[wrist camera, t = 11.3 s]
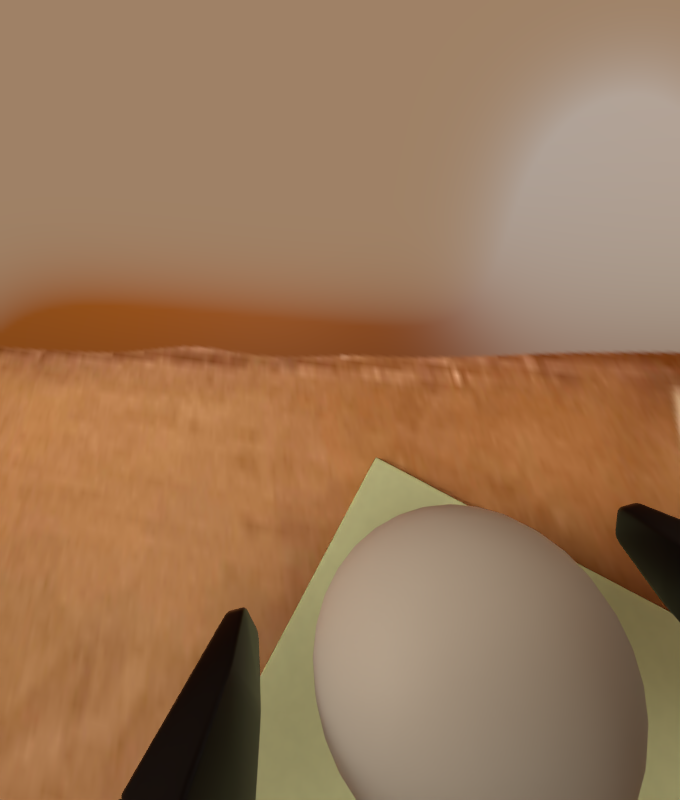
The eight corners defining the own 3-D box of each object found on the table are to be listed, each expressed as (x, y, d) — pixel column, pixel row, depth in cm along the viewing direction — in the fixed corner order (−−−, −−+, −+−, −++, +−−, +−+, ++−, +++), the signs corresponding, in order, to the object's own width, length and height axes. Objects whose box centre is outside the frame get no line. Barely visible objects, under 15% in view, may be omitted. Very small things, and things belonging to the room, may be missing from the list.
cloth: (897, 733, 13) (909, 737, 13) (810, 1433, 9) (825, 1462, 9) (375, 458, 18) (375, 456, 18) (167, 853, 14) (163, 860, 14)
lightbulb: (473, 719, 14) (739, 1232, 4) (319, 641, 15) (204, 872, 5) (517, 552, 16) (789, 593, 5) (375, 494, 17) (374, 436, 7)
